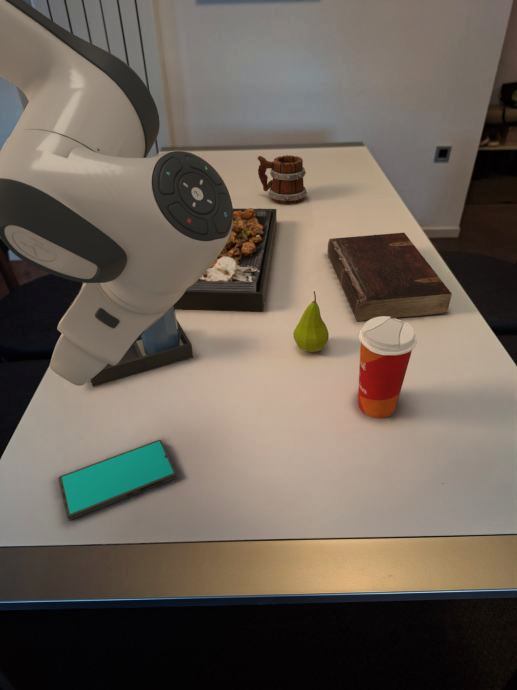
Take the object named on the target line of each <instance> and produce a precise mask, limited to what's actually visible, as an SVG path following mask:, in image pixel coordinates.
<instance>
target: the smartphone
mask: <svg viewBox="0 0 517 690" xmlns="http://www.w3.org/2000/svg"><path fill="white" fill-rule="evenodd" d="M176 478H177V472H176V469H175V467H174V466H173V462H172V461H171V458H170V456H169V454H168V452H167V450H166V447H165V445H164V443H163V441H162V440H161V439H158V440H155V441H152V442H150V443H147V444H144V445H141V446H138V447H136V448H132V449H130V450H127V451H125V452H122V453H119V454H116V455H114V456H111V457H108V458H105V459H102V460H101V461H97V462H94V463H92V464H89V465H86V466H83V467H81V468H78V469H76V470H73V471H71V472H68V473H65V474H62V475H59V477H58V478H57V479H58V483H59V489H60V494H61V498H62V503H63V507H64V513H65V516H66V518H67V520H68V521H71V520H74V519H76V518H80V517H81V516H83V515H87V514H89V513H91V512H94V511H96V510H98V509H101V508H103V507H106V506H109V505H111V504H114V503H116V502H119V501H121V500H124V499H126V498H129V497H131V496H134V495H136V494H139V493H141V492H144V491H146V490H149V489H152V488H154V487H156V486H159V485H162V484H164V483H167V482H169V481H171V480H174V479H176Z"/></svg>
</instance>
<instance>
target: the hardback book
mask: <svg viewBox="0 0 517 690" xmlns="http://www.w3.org/2000/svg"><path fill="white" fill-rule="evenodd" d="M327 256H328V258H329V262H330V263H331V265H332V268H333V270H334V273H335V275H336V277H337V279H338V281H339V283H340V286H341V289H342V290H343V293H344V295H345V297H346V299H347V301H348V303H349V306H350V309H351V311H352V312H353V313H352V314H353V315H354V317H355V319H356V322H367V321H368V320H370V319H372V318H375V317H381V316H388V317H391V318H392V319H394V318H396V319H399V318H401V319H402V318H411V317H420V316H435V315H444V314H448V311H449V307H450V304H451V303H450V302H451V300H452V292H451V291H450V289H449V288H448V287H447V285H446V284H445V283H444V281H443V280H442V279H441V278H440V277H439V275H438V274H437V272H436V271H435V270H434V269H433V267H432V266H431V265H430V263H429V262H428V261H427V260H426V259H425V257H424V256H423V254H422V253H421V252H420V251H419V249H418V248H417V247H416V246H415V244H414V243H413V242H412V240H411V239H410V238H409V237H408V236H407V234H406V233H405V232H395V233H383V234H382V233H381V234H370V235H357V236H347V237H336V238H335V237H333V238H329V239H328V242H327Z"/></svg>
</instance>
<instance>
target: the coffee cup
mask: <svg viewBox="0 0 517 690" xmlns="http://www.w3.org/2000/svg"><path fill="white" fill-rule="evenodd" d="M358 339H359V341H360V350H359V351H360V352H359V368H358V370H359V372H358V391H357V404H358V408H359V410H360V411H361V412H362V413H363V414H364V415H366V416H369V417H372V418H376V419H384V418H387V417H389V416H391V415H393V413H394V412H395V410H396V408H397V404H398V401H399V398H400V395H401V391H402V388H403V385H404V381H405V377H406V374H407V370H408V366H409V362H410V359H411V356H412V352H413V350H414V349H415V348H416V347H417V346H416V345H417V341H418V340H417V339H418V338H417V337H416V333H415V330H414V327H413V326H412V325H411V324H410V323H408V322H407V321H403V320H401V319H399V318H391V317H388V316H381V317H375V318H372V319H370V320H368V321H365V323H364V324H363V326H362V328H360V331H359V332H358Z"/></svg>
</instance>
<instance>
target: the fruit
mask: <svg viewBox="0 0 517 690" xmlns="http://www.w3.org/2000/svg"><path fill="white" fill-rule="evenodd" d="M313 296H314V298H313V301H311V303H309V304H308V305H307V307H306V308H305V310H304V311H303V313H302V315H301V317H300V319H299V321H298V323H297V324H296V327H295V328H294V330H293V333H292V334H293V339H294V341H295V343H296V345H297V347H298V348H299V349H301V350H303V351H305V352H309V353H315V352H318V351H321V350H323V349H325V347H326V345H327V343H328V341H329V330H328V327H327V325H326V323H325V322H324V320H323V318H322V316H321V309H320V306H319V305H318V302H317V296H316V291H315V290H314V291H313Z"/></svg>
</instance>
